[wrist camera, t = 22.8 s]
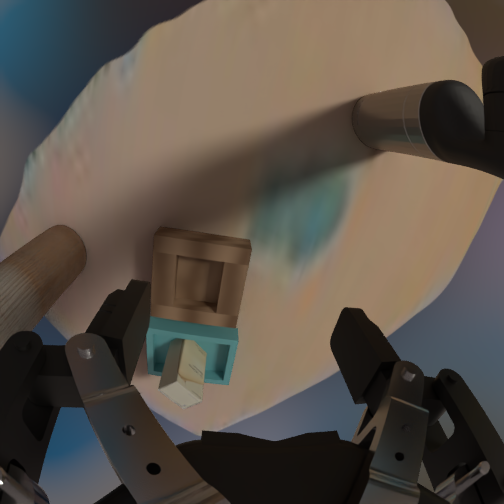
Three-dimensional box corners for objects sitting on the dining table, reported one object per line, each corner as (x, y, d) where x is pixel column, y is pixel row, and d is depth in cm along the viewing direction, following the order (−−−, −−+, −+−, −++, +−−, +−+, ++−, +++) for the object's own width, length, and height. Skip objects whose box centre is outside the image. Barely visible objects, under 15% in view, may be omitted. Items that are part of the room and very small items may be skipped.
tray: (237, 328, 51) (238, 340, 47) (228, 372, 55) (228, 385, 52) (150, 315, 48) (146, 327, 45) (151, 361, 53) (148, 373, 49)
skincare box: (207, 352, 51) (204, 402, 40) (189, 361, 52) (184, 410, 41) (185, 331, 49) (177, 381, 38) (167, 341, 50) (156, 390, 38)
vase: (88, 231, 41) (-18, 330, 16) (86, 282, 45) (7, 394, 19) (44, 219, 40) (-67, 297, 14) (44, 268, 43) (-43, 361, 17)
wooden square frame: (249, 239, 44) (251, 249, 41) (234, 314, 49) (235, 328, 46) (160, 226, 42) (154, 235, 39) (155, 303, 47) (151, 316, 44)
